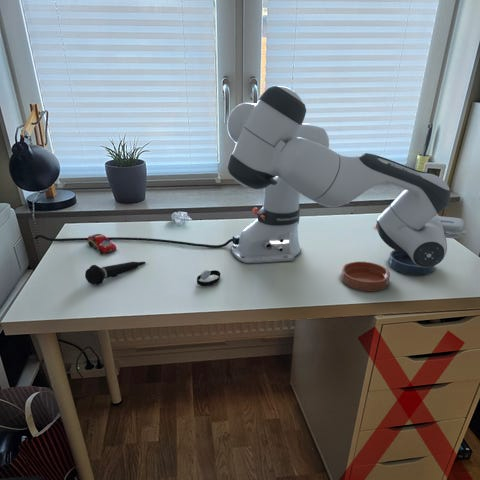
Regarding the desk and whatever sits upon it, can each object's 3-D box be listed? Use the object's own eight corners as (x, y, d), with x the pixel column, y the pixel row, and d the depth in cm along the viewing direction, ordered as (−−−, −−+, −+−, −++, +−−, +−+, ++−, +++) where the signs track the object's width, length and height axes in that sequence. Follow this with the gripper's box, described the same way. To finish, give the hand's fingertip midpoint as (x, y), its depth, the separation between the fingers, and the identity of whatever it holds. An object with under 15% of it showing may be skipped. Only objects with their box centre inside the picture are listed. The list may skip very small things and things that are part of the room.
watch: (214, 275, 130) (214, 264, 128) (224, 281, 127) (224, 270, 125) (193, 283, 126) (192, 272, 124) (203, 289, 123) (202, 278, 121)
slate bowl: (405, 278, 130) (408, 269, 128) (379, 260, 140) (381, 251, 138) (442, 272, 133) (445, 263, 132) (414, 254, 144) (416, 246, 142)
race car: (119, 253, 143) (117, 241, 141) (103, 257, 140) (101, 245, 138) (101, 240, 152) (100, 229, 150) (86, 244, 149) (84, 233, 147)
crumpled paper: (192, 214, 163) (174, 215, 161) (191, 225, 165) (174, 226, 163) (186, 207, 169) (169, 208, 167) (186, 218, 171) (169, 219, 169)
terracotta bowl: (356, 294, 121) (358, 285, 119) (332, 274, 132) (334, 265, 130) (397, 287, 125) (399, 278, 123) (371, 268, 135) (372, 259, 134)
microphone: (141, 271, 138) (84, 287, 125) (137, 253, 137) (79, 267, 123) (152, 271, 135) (94, 287, 121) (148, 253, 133) (89, 266, 119)
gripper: (470, 224, 113) (463, 208, 124) (388, 216, 118) (388, 201, 129) (463, 247, 117) (457, 229, 128) (383, 238, 121) (384, 221, 133)
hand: (422, 215), depth 129 cm, fingers closed on strawberry, 5 cm apart
